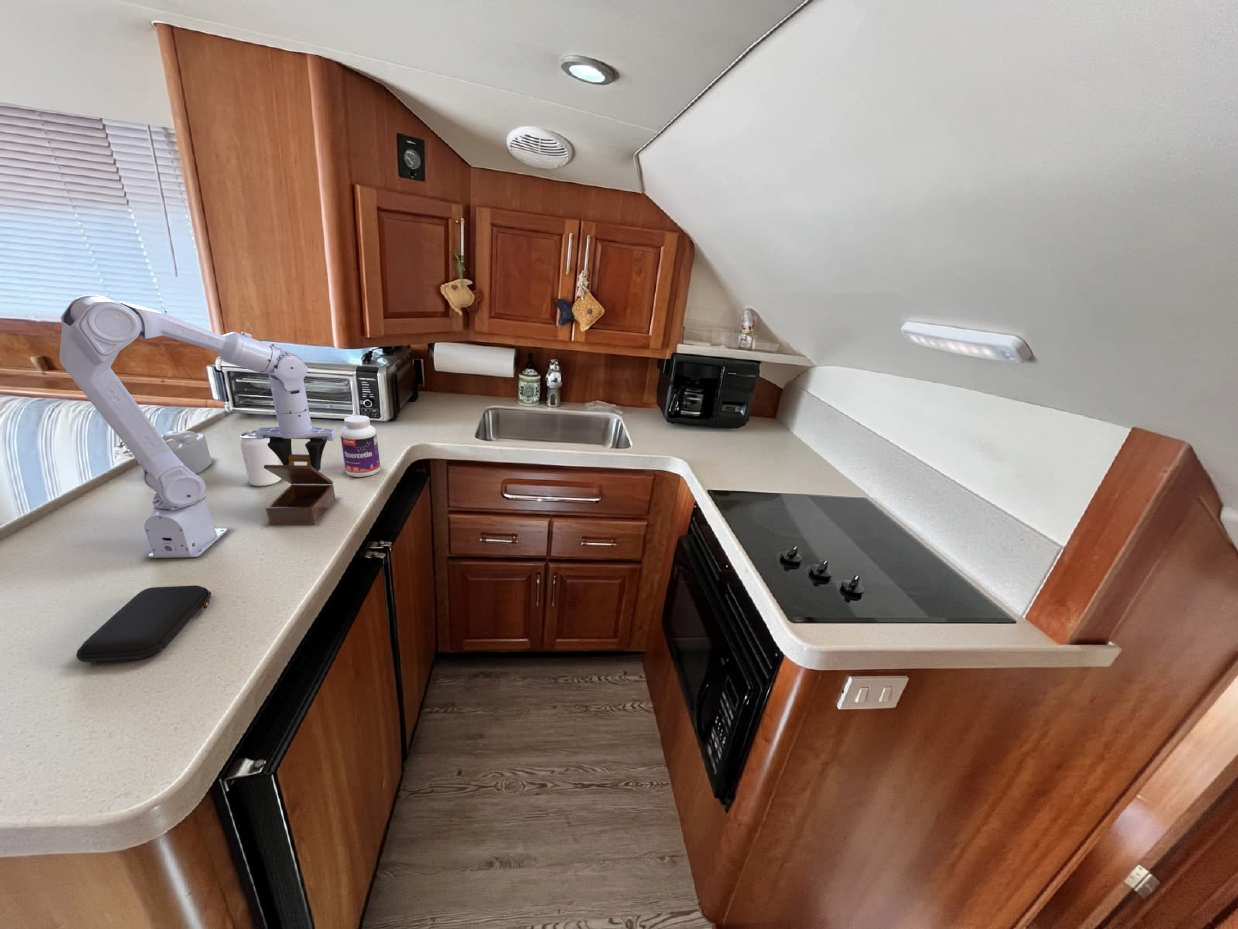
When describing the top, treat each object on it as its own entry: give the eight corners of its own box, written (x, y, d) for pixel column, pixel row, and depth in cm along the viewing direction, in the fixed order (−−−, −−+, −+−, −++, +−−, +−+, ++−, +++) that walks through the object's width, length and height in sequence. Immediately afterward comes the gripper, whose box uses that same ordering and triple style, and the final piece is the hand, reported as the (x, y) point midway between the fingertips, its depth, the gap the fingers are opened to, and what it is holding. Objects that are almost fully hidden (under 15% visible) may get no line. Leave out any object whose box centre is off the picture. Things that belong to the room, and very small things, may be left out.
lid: (310, 468, 99) (313, 446, 100) (263, 468, 97) (267, 445, 99) (332, 484, 110) (335, 464, 111) (290, 484, 108) (294, 464, 110)
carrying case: (165, 663, 67) (224, 595, 80) (159, 646, 65) (220, 579, 79) (71, 670, 64) (148, 598, 78) (63, 652, 63) (142, 582, 77)
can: (266, 488, 114) (255, 440, 109) (242, 484, 115) (230, 436, 110) (288, 478, 119) (279, 431, 115) (266, 473, 120) (255, 427, 116)
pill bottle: (342, 479, 121) (333, 424, 115) (349, 466, 128) (342, 413, 123) (378, 478, 123) (371, 423, 118) (383, 465, 130) (377, 413, 125)
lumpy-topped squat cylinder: (217, 459, 126) (209, 427, 122) (188, 480, 114) (178, 446, 111) (170, 459, 124) (160, 427, 120) (135, 481, 112) (123, 446, 109)
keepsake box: (315, 524, 101) (312, 508, 100) (269, 524, 100) (265, 508, 98) (335, 499, 112) (333, 484, 110) (294, 499, 110) (291, 484, 109)
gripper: (338, 405, 105) (346, 463, 110) (263, 402, 102) (275, 462, 108) (324, 415, 98) (334, 476, 104) (244, 412, 96) (259, 475, 101)
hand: (303, 470), depth 105 cm, fingers open, 5 cm apart
